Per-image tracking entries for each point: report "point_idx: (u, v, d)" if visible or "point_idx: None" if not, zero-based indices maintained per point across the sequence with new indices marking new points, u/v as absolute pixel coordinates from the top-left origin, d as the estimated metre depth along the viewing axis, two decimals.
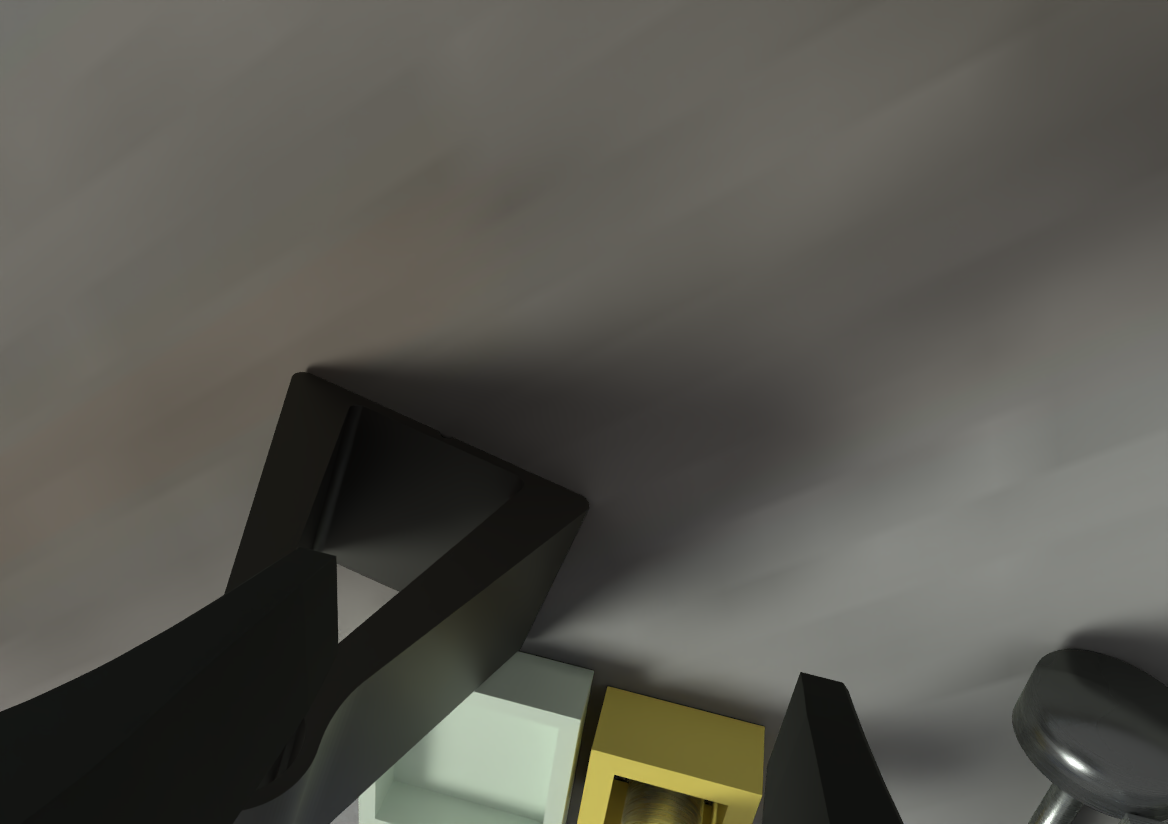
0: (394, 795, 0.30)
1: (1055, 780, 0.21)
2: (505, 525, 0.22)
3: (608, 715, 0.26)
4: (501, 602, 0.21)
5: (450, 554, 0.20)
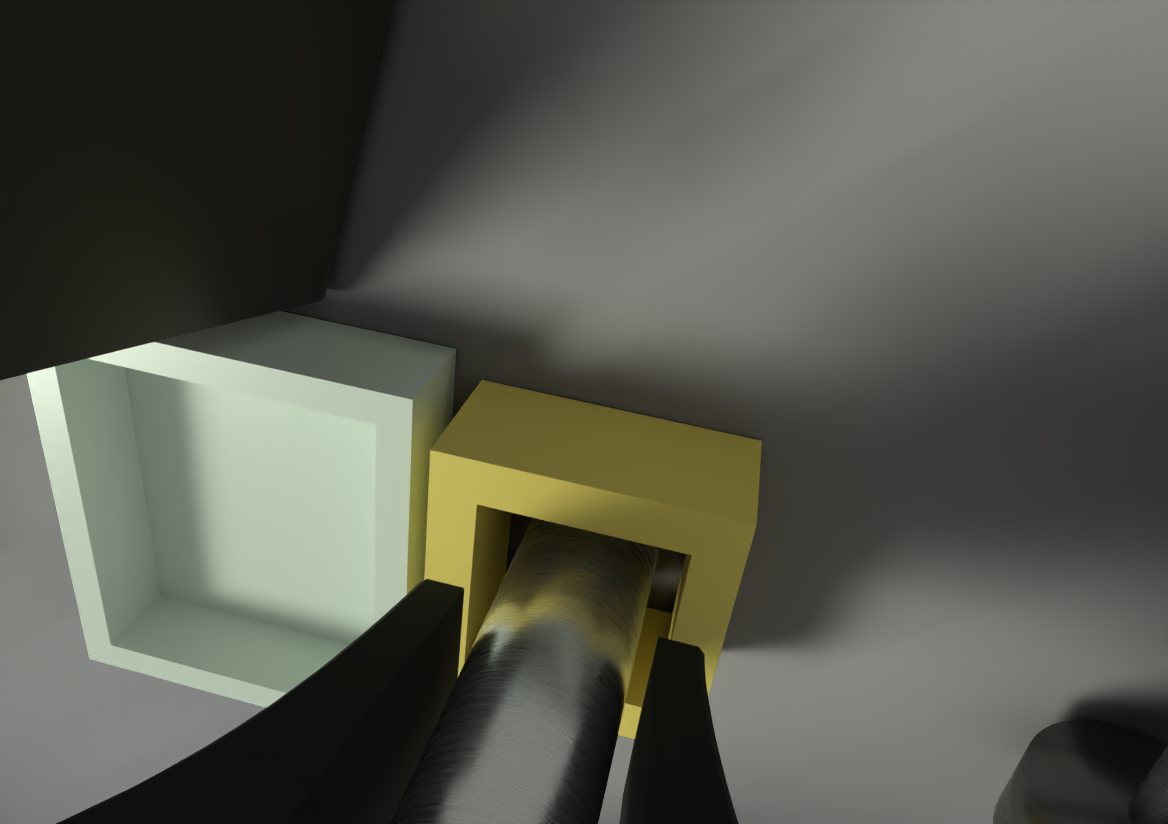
0: (155, 615, 0.18)
1: None
2: None
3: (474, 411, 0.14)
4: (174, 19, 0.10)
5: None
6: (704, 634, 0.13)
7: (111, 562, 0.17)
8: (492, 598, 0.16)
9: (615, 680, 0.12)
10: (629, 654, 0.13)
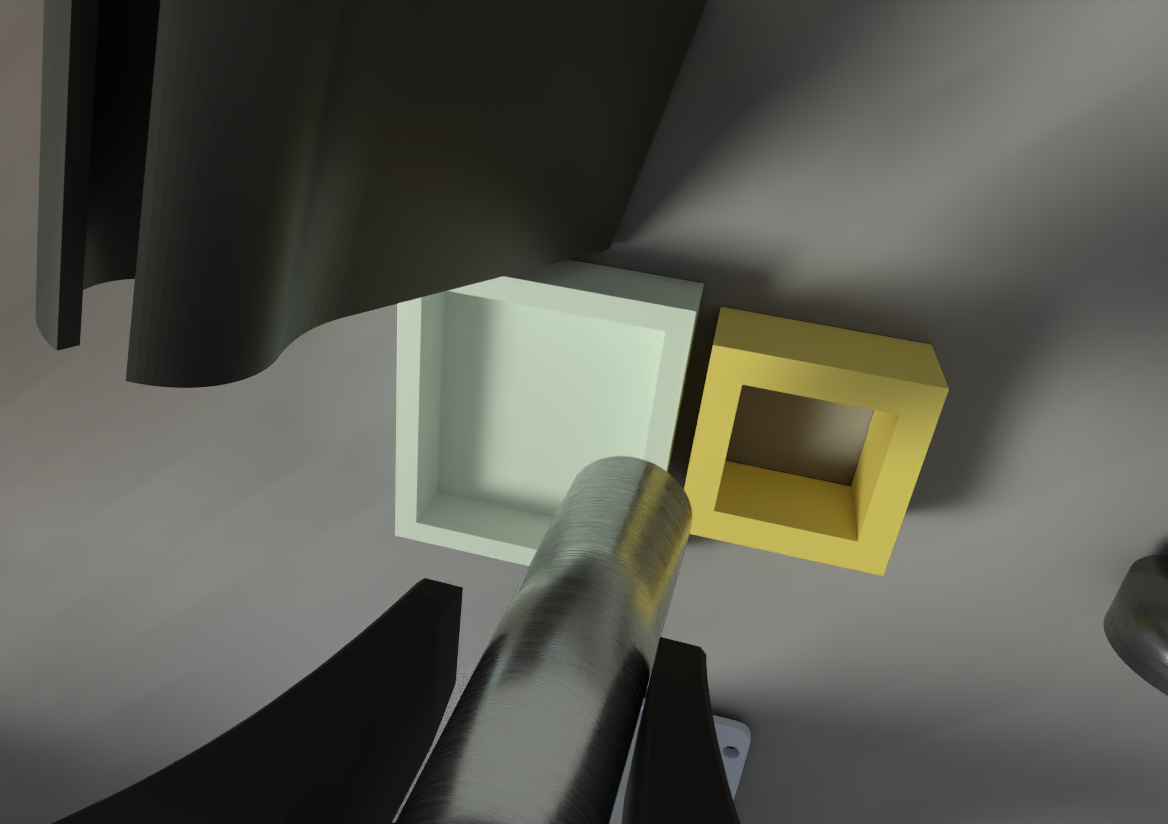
0: (439, 504, 0.24)
1: None
2: None
3: (728, 324, 0.20)
4: (606, 49, 0.15)
5: None
6: (902, 476, 0.19)
7: (423, 456, 0.23)
8: None
9: (636, 665, 0.12)
10: (651, 641, 0.13)
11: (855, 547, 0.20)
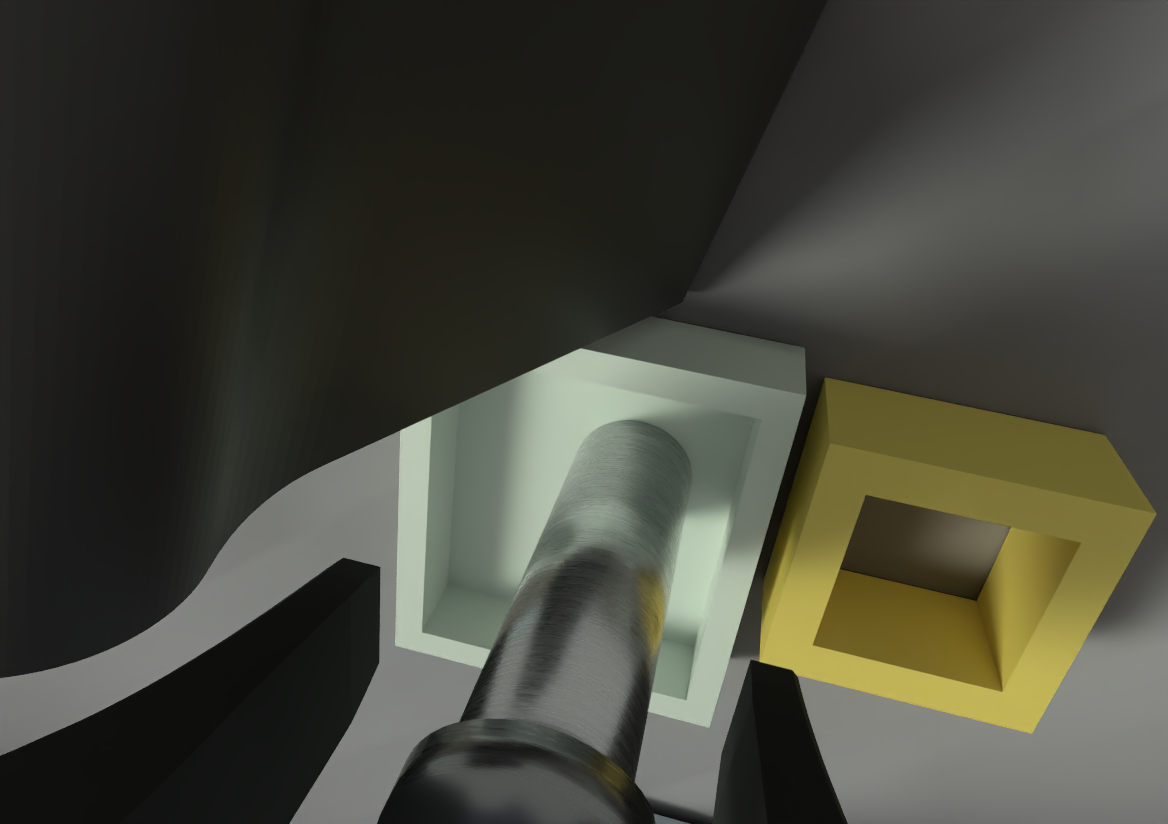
0: (450, 603, 0.19)
1: None
2: None
3: (841, 407, 0.15)
4: (719, 41, 0.10)
5: None
6: (1075, 618, 0.14)
7: (432, 552, 0.18)
8: None
9: (658, 598, 0.13)
10: (667, 579, 0.14)
11: (998, 698, 0.15)
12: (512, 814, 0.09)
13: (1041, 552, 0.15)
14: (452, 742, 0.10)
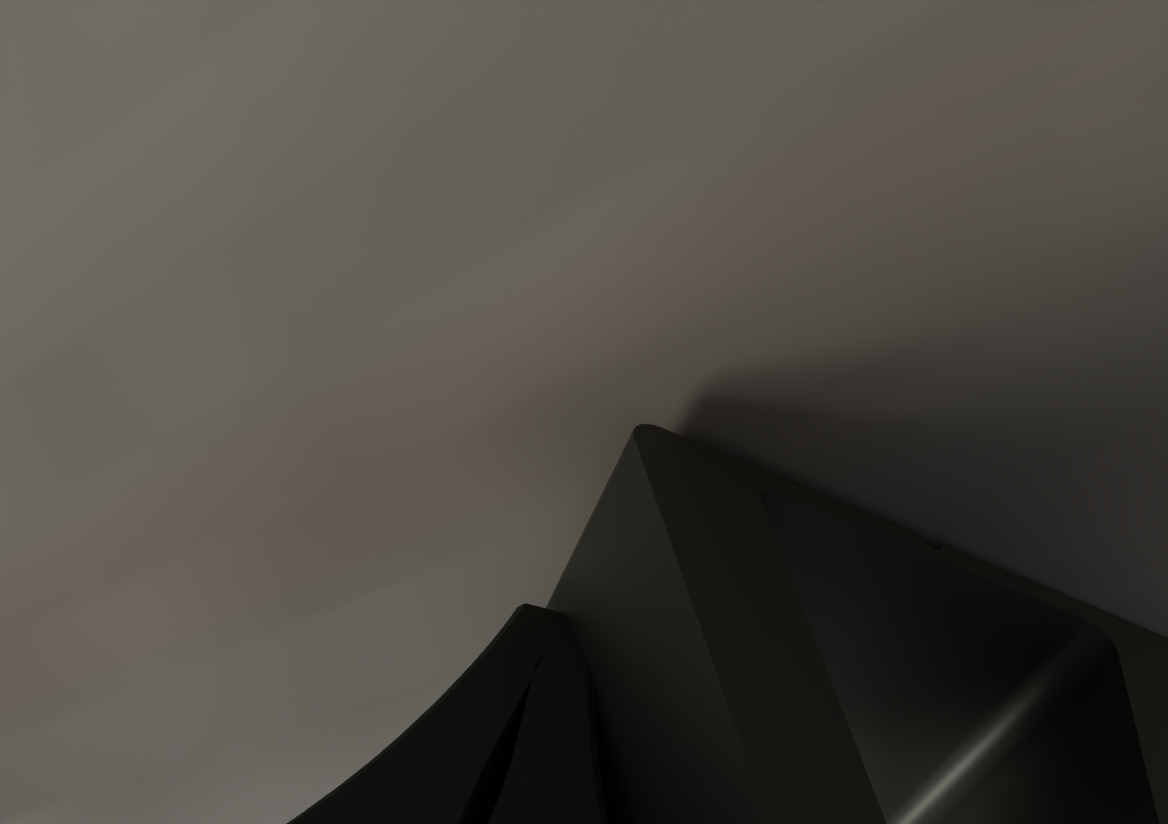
0: None
1: None
2: None
3: None
4: None
5: None
6: None
7: None
8: None
9: None
10: None
11: None
12: None
13: None
14: None
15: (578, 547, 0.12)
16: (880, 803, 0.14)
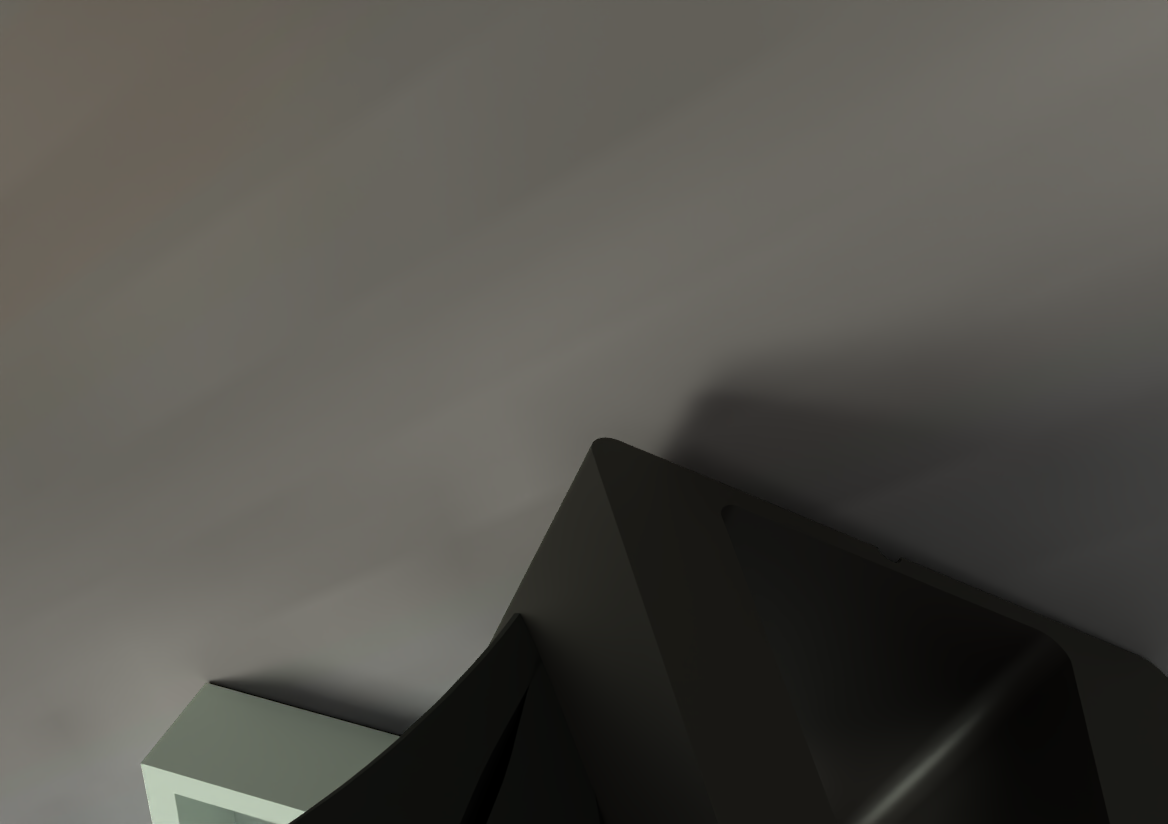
0: None
1: None
2: (1129, 774, 0.10)
3: None
4: None
5: None
6: None
7: None
8: None
9: None
10: None
11: None
12: None
13: None
14: None
15: (534, 562, 0.12)
16: (836, 809, 0.14)
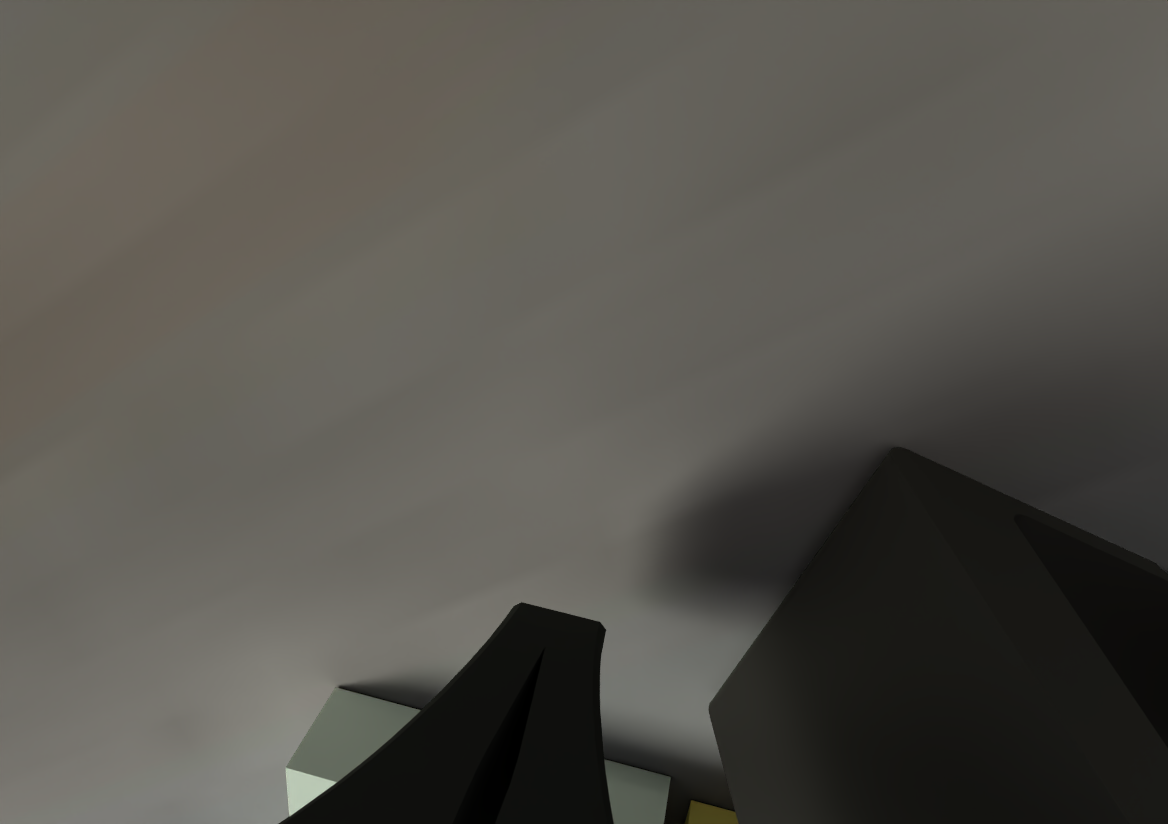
0: None
1: None
2: None
3: None
4: None
5: None
6: None
7: None
8: None
9: None
10: None
11: None
12: None
13: None
14: None
15: (818, 561, 0.13)
16: None
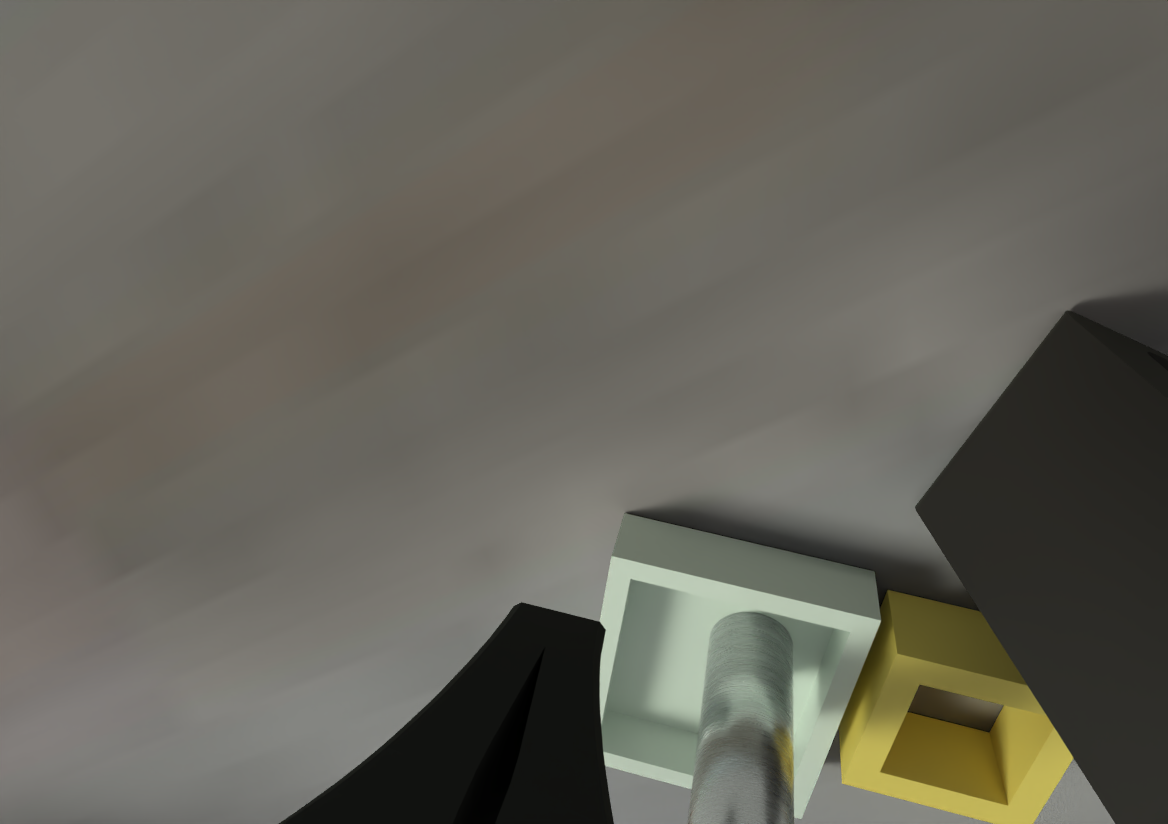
0: (611, 725, 0.27)
1: None
2: None
3: (901, 619, 0.22)
4: None
5: None
6: (1055, 763, 0.22)
7: (607, 696, 0.25)
8: None
9: (790, 758, 0.21)
10: (792, 740, 0.21)
11: (1005, 809, 0.23)
12: None
13: (1033, 714, 0.22)
14: None
15: (1010, 391, 0.20)
16: None
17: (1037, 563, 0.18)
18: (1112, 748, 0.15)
